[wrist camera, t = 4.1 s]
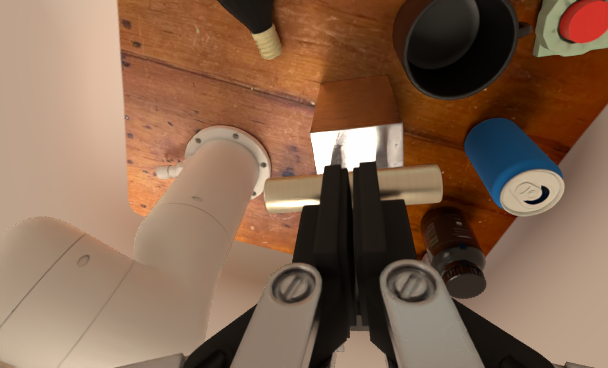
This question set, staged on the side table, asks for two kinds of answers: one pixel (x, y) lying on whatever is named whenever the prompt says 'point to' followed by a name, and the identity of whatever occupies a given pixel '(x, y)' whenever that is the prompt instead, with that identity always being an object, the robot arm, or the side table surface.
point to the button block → (550, 36)
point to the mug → (456, 44)
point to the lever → (392, 184)
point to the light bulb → (257, 23)
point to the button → (585, 21)
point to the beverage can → (513, 168)
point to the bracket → (357, 126)
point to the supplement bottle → (454, 251)
